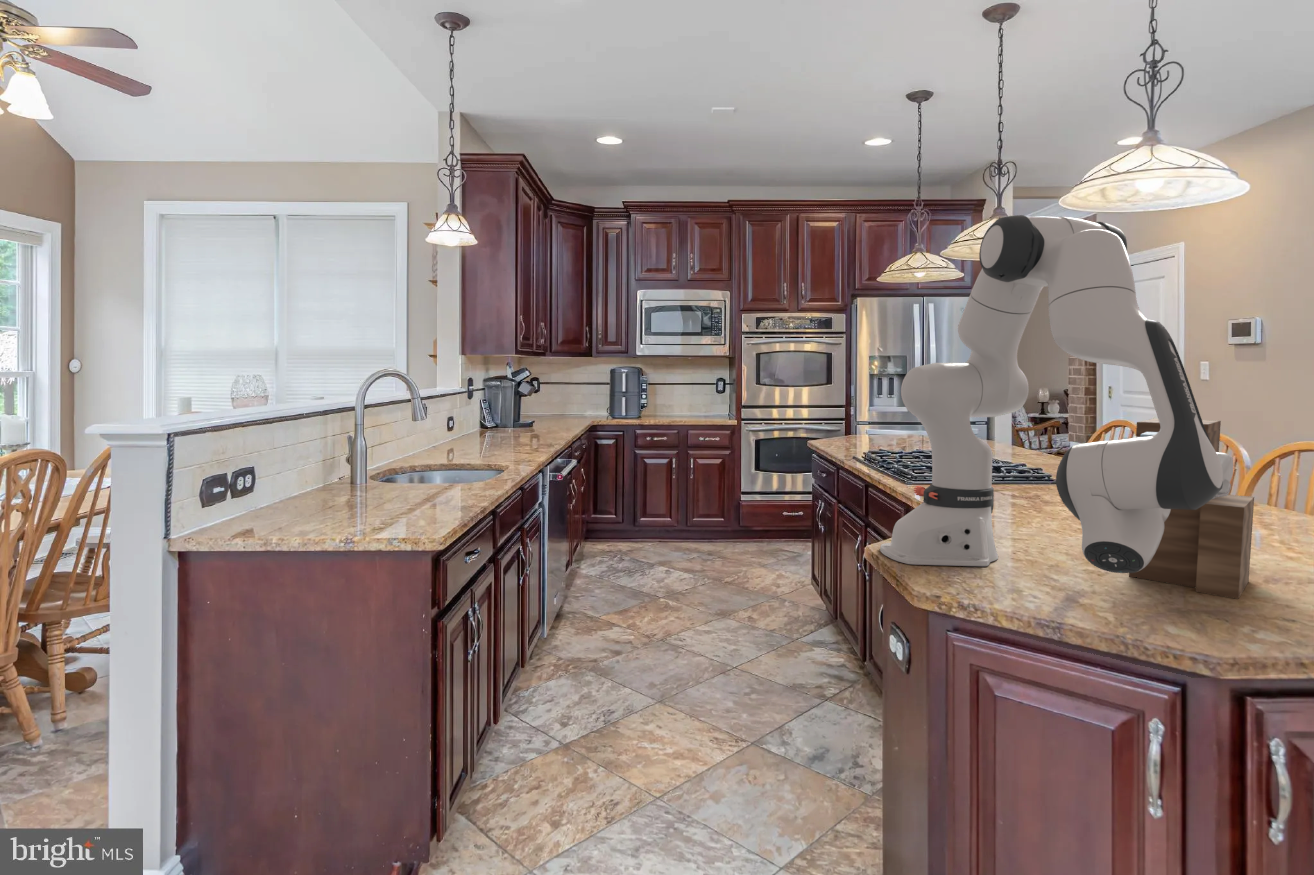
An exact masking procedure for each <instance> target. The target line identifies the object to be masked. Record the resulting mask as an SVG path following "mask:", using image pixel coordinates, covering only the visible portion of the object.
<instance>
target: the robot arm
mask: <svg viewBox="0 0 1314 875" xmlns="http://www.w3.org/2000/svg"><path fill="white" fill-rule="evenodd" d="M1127 241H1128V240H1127V237H1126V236H1125V233H1124V232H1123V231H1122V230H1121V229H1120V228H1119V227H1116V226H1115V225H1112V224H1109V223H1107V222H1102V221H1090V220H1085V219H1080V218H1075V217H1069V216H1068V217H1067V216H1057V217H1056V216H1027V215H1024V214H1023V215H1022V214H1017V215H1015V214H1013V215H1008V216H1004V217H1000V218H998V219H996V220H995V221H993V223H992V224H991V225H990V226H989V227H988V228H987V230H986V231H985V233H984V234H983V237H982V239H981V244H980V248H979V252H978V253H979V256H978V257H979V264H980V266H981V270H980V272H979V273H978V275H977V277H976V280H975V282H974V285H973V286H972V288H971V291H970V294H969V297H968V300H967V302H966V304H965V307H964V310H963V312H962V315H961V318H960V321H959V322H958V325H957V332H958V336H959V338H960V341H961V342H962V344H963V345H964V346H966V347H967V348H968V349H969V350H971V351H970V356H969V357H968V359H967V361H965V362H933V363H932V362H931V363H928V364H923V365H920V366H915V367H912V368H911V369H910V370H909V371H908V372H907V373H906V374H905V376H904V378H903V380H902V383H901V387H900V395H901V400H902V403H903V405H904V407H905V408H906V410H907V411H908V412H909V413H911V414H912V415H913V416H915V417H916V419H918V421H919V422H920V423H921V425H922V426H923V428H924V430H925V432H926V434H927V437H928V440H929V443H930V447H931V449H930V450H931V461H932V462H931V464H932V466H931V468H932V469H931V471H932V475H931V478H932V479H931V484H930V485H929V486H928V487H925V486H921V485H916V486H915V487H914V488H913V493H914V494H915V495H916V496H919V497H923V498H922V499H923V500H922V501H923V502H921V503H920V504H919V505H917V506H916V507H914V509H912V510H911V511H910V512H908V513H907V514H905V515H904V516H902V517H901V518H899V519H898V520H897V521H896V522H895V524H894V526H893V530H892V535H891V542H885V543H881V544H880V547H879V551H880V552H881V553H882V555H884V556H886V557H888V558H889V559H891V560H892V561H895V562H899V563H904V564H906V565H919V566H921V565H922V566H924V565H925V566H957V567H958V566H959V567H961V566H963V567H988V566H989V565H990V563H992V562H994V561H997V560H998V559H999V555H998V550H997V548H996V547H997V546H996V542H995V536H994V530H993V517H992V516H993V515H992V514H993V511H994V503H995V501H994V500H995V496H994V495H995V488H994V487H993V486H992V482H993V481H992V480H993V478H992V477H993V449H992V448H991V446H990V445H989V444H988V442H986V441H985V440H984V439H982V438H980V437H978V436H976V434H975V432H974V430H973V429H972V428H973V427H972V425H971V420H970V419H971V418H996V417H1001V416H1005V415H1009V414H1012V413H1015V412H1018V411H1020V410H1021V409H1022V408H1023V407H1024V405H1025V403H1026V402H1027V400H1028V396H1029V389H1030V387H1029V386H1030V385H1029V380H1028V378H1027V376H1026V375H1025V373H1024V372H1023V370H1022V369H1021V368H1020V367H1019V362H1018V351H1019V347H1020V342H1021V340H1022V338H1023V334H1024V332H1025V329H1026V327H1027V325H1028V322H1029V320H1030V318H1031V316H1032V313H1033V311H1034V308H1035V306H1036V304H1037V302H1038V299H1039V296H1040V293H1041V291H1042V290H1043V288H1044V287H1045V288H1046V287H1047V294H1048V296H1047V298H1048V299H1047V300H1048V302H1047V303H1048V319H1049V320H1048V321H1049V327H1050V332H1051V336H1052V338H1053V341H1054V343H1055V344H1056V345H1057V346H1058V347H1059V348H1060V349H1061V350H1062V351H1063V352H1065V353H1066V354H1068V355H1070V356H1071V357H1074V358H1077V359H1079V360H1082V361H1085V362H1090V363H1094V364H1102V365H1107V366H1108V365H1109V366H1110V365H1111V366H1118V367H1125V368H1129V369H1134V370H1137V371H1139V372H1140V373H1141V374H1142V375H1143V377H1144V379H1145V382H1146V385H1147V388H1148V391H1149V395H1150V397H1151V400H1152V404H1153V407H1154V410H1155V412H1156V416H1157V419H1158V420H1159V423H1160V431H1159V432H1158V433H1157V434H1155V435H1153V436H1148V437H1136V435H1135V436H1132V438H1124V439H1116V440H1115V439H1114V440H1111V439H1109V440H1101V441H1093V442H1086V443H1080V444H1074V445H1072V446H1071V447H1069V449H1068V450H1067V451H1066V452H1065V453H1064V454H1063V456H1062V458H1061V460H1060V462H1059V464H1058V467H1057V470H1056V476H1055V484H1056V490H1057V492H1058V495H1059V497H1060V499H1061V502H1062V503H1063V505H1064V506H1065V507H1066V508H1067V510H1068V511H1069V512H1070V513H1071V514H1072V515H1073V516H1074V517H1075V518H1076V519H1077V520H1078V521H1079V522H1080V526H1081V531H1082V532H1081V533H1082V534H1081V535H1082V536H1081V551H1082V553H1083V556H1084V558H1085V559H1086V560H1087V562H1089V563H1090V564H1091V565H1092V566H1094V567H1096V568H1098V569H1100V570H1103V571H1105V572H1109V573H1115V574H1116V573H1117V574H1129V573H1135V572H1138V571H1140V570H1142V569H1143V568H1145V567H1146V566H1147V565H1148V564H1149V562H1150V561H1151V560H1152V558H1153V556H1154V555H1155V553H1156V551H1157V549H1158V546H1159V544H1160V541H1161V539H1162V536H1163V533H1164V522H1165V521H1166V519H1167V518H1168V516H1169V514H1170V511H1171V509H1185V510H1196V509H1198V508H1200V507H1201V506H1203V505H1205V504H1206V503H1207V502H1209V501H1210V500H1211V499H1214V498H1216V497H1223V496H1227V495H1230V492H1231V488H1232V484H1231V480H1232V478H1233V474H1234V459H1233V457H1232V456H1231V455H1230V454H1229V453H1227V452H1219V453H1218V452H1216V451H1215V450H1214V448H1213V446H1212V444H1211V441H1210V439H1209V437H1208V434H1207V432H1206V430H1205V427H1204V424H1203V422H1202V420H1203V419H1202V416H1201V413H1200V411H1199V408H1198V405H1197V402H1196V399H1195V397H1194V396H1195V395H1194V394H1193V393H1194V392H1193V390H1192V387H1191V384H1190V382H1189V378H1188V375H1187V372H1186V369H1185V367H1184V364H1183V362H1182V359H1181V357H1180V355H1179V351H1178V348H1177V347H1176V345H1175V342H1174V340H1173V338H1172V336H1171V334H1170V333H1169V331H1168V329H1166V327H1165V326H1164V325H1163V324H1162V323H1161V322H1160V321H1158V320H1152V319H1148V318H1147V317H1146V316H1145V314H1143V312H1142V311H1141V310H1140V307H1139V304H1138V300H1137V293H1136V286H1135V285H1136V284H1135V280H1134V274H1133V269H1132V265H1131V261H1130V258H1129V255H1128V242H1127Z"/></svg>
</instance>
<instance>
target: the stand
mask: <svg viewBox="0 0 1314 875" xmlns="http://www.w3.org/2000/svg"><path fill="white" fill-rule="evenodd" d="M1221 421H1222V420H1213V419H1202V422H1203V424H1204V427H1205V430H1206V432H1207V434H1208V437H1209V439H1210V441H1211V444H1212V446H1213V448H1214V450H1215V451H1216V452H1218V453H1220V442H1221V440H1220V438H1221V426H1222V425H1221ZM1159 431H1160V423H1159V420H1158V418H1151V419H1146V420H1140V421H1136V430H1135V437H1140V435H1141V434H1142V433H1145V432H1159ZM1254 506H1255V496H1250V495H1249V496H1247V495H1238V494H1237V495H1236V494H1235V495H1234V494H1228V495H1227V496H1223V497H1216V498H1214V499H1211V500H1210V501H1209V502H1207V503H1206V504H1205V505H1203V506H1201V507H1200V508H1198V509H1196V510H1185V509H1171V511H1170V514H1169V516H1168V518H1167V519H1166V521H1165V522H1164V533H1163V536H1162V539H1161V541H1160V544H1159V546H1158V549H1157V551H1156V553H1155V555H1154V556H1153V558H1152V560H1151V561H1150V562H1149V564H1148V565H1147V566H1146V567H1145V568H1143V569H1142V570H1140V571H1138V572H1135V573H1128V577H1130V578H1135V577H1137V579H1141V580H1147V579H1149V581H1154V582H1159V581H1160V583H1165V582H1167V583H1166V584H1172V585H1177V584H1178V586H1184V587H1190V588H1195V592H1196V593H1202V594H1207V595H1213V596H1219V597H1226V598H1231V599H1237V600H1238V599H1239V598H1240V597H1241V595H1242V593H1243V592H1244V590H1245V588H1246V587H1247V585H1248V583H1249V581H1250V567H1251V550H1252V540H1253V539H1252V537H1253V536H1252V535H1253V533H1252V532H1253V520H1254Z"/></svg>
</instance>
